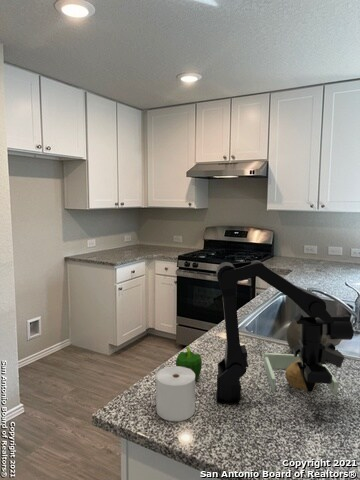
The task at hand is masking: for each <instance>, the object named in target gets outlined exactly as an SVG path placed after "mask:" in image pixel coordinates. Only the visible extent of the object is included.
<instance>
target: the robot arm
mask: <svg viewBox="0 0 360 480" xmlns="http://www.w3.org/2000/svg"><path fill="white" fill-rule="evenodd" d="M215 273H216V278H217V282H218V286H219V289H220V292H221V296H222V304H223V315H224V325H225V337H226V342H225V343H226V344H225V348H224V349H225V351H224V358H222V360H221V361H220V362H218V363H217V374H216V390H215V391H216V393H215V394H216V397H215V398H216V401H215V403H216V404H224V405H225V404H226V405H240V400H241V398H242V383H241V378H242V377H244V376H245V374H246V373H247V368H249V366H250V365H249V362H248V351H247V346H246V344H242V345H241V341H240V330H239V329H240V328H239V319H238V318H239V317H238V308H237V293H238V291H237V290H238V286H239V285H238V284H239V282H242V281H246V280H249V279H252V278H257V277H258V278H259V279H261V280H262V281H264V282H265V283H267V284H268V285H270V286H271V287H272V288H274V289H276V290H277V291H279V292H280V293H281V294H283V295H284V296H287V297H288V298H289V299H291V300H292V301H293V302H294V303H295V304H296V305H297V306H298V307H299V308H300V309H301V310H302V311H303V312H304V313H305V314H306V315H304V316H303V314H302V313H301V312H299V313H298V315H296V316H294V317H293V320H294V321H295V322H296V323H297V324H301V338H299V343H300V344H301V345H296V346H294V347H293V352H292V354H293V355H294V357H297V354H299V358H300V362H298V363H297V364H298V366H299V369H300V372H301V374H302V377H303V379H304V382H305V385H306V387H307V390H306V391H307V392H308V393H312V392H313V391H314V388H315V387H316V386H315V383H318V384H324V385H325V384H326V385H327V384H331V383H332V375H333V374H332V375H331V373H332V372H331V371H330V372H331V373H330V372H329V370H330V369H329V368H328V369H329V370H328V369H327V368H326V367H325V366H322V365H321V364H326V363H327V364H329V365H332V366H335V367H336V368H339V369H340V368H341V367H342V364H343V362H344V360H345V356H344V354H342V352H341V351H339V350H338V349H336V346H335V344H334V343H332V342H329V341H328V342H326V345H324V344H323V343H322V338H323V333H324V335H326V336H327V340H341V341H343V340H344V341H347V340H348V341H350V340H352V339H354V332H355V331H354V328H353V324H352V321H351V316H350V315H349V314H347V313H346V314H330V313H329V312H328V311H327V303H326V301H324V299H322V298H321V297H320V296H319V295H318V294H316V293H314V292H313V291H311V290H307V289H305V288H303V287H300V286H299V285H295V284H294V283H292V282H291V281H290V280H288V279H286V278H284V277H283V276H282V275H280V274H279V273H277V272H275V271H274V270H272V269H271V268H269V267H268V266H267V265H265V264H264V263H263V262H262V261H260V259H259V260H257V259H255V260H251V261H243V262H235V263H231V262H228V261H225V262H221V263H220V264H218V266H217V267H216V271H215ZM315 318H316V319H315ZM319 363H321V364H319ZM314 386H315V387H314Z"/></svg>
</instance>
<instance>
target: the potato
mask: <svg viewBox="0 0 360 480" xmlns="http://www.w3.org/2000/svg"><path fill="white" fill-rule="evenodd" d="M298 362H300V360H298V361H296V362H294V363H292V364H291V365H290V366H289V367H287V369H285V372H284V373H285V374H284V375H285V379H286V382H288V384H289V385H290V386H291V387H292V388H294V389H297V390H301V391H308V390H307V387H306V385H305V382H304V379H303V377H302V374H301V372H300V369H299V366H298V364H297V363H298ZM318 384H319V383H315V386H314V388H315V387H316V386H318Z"/></svg>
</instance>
